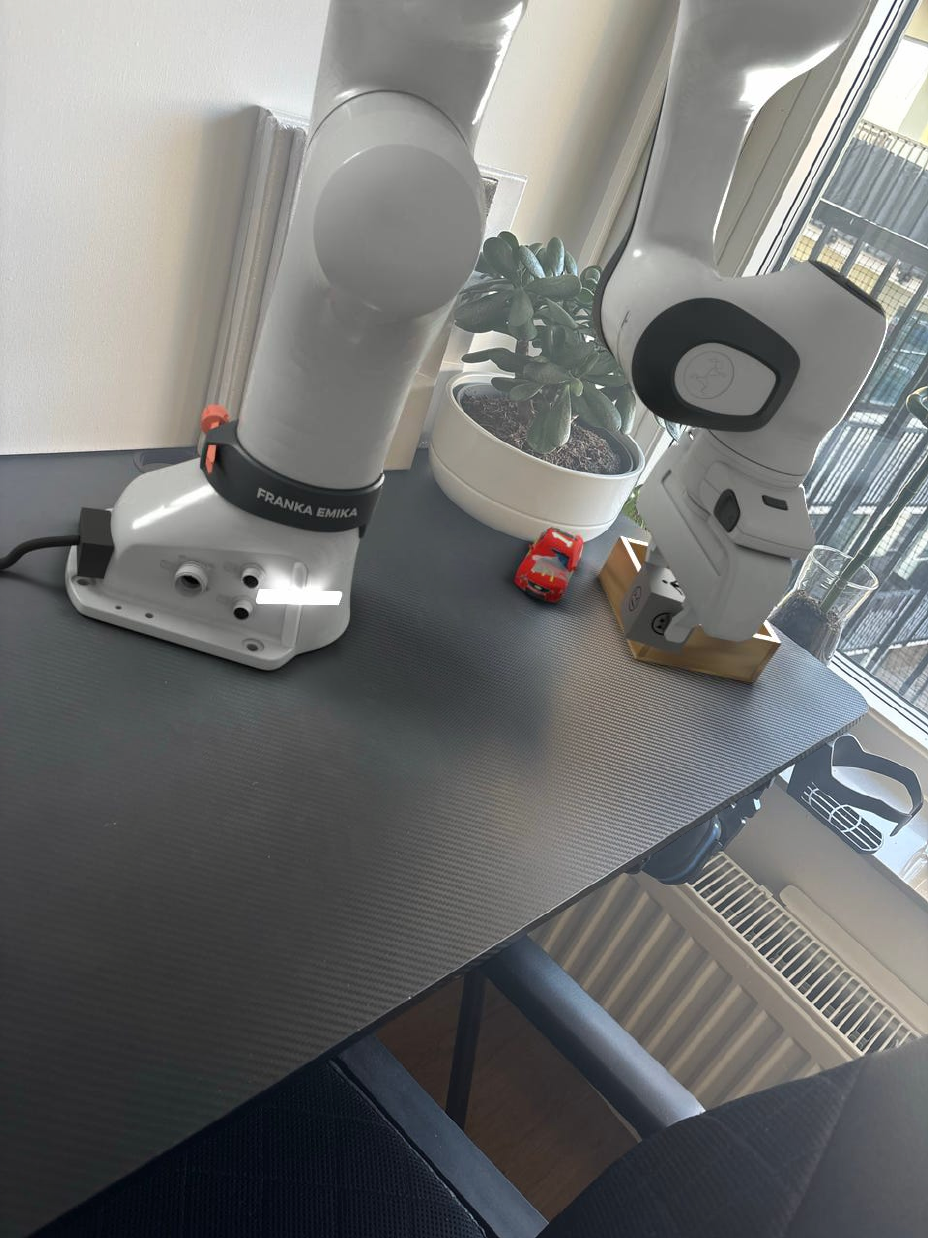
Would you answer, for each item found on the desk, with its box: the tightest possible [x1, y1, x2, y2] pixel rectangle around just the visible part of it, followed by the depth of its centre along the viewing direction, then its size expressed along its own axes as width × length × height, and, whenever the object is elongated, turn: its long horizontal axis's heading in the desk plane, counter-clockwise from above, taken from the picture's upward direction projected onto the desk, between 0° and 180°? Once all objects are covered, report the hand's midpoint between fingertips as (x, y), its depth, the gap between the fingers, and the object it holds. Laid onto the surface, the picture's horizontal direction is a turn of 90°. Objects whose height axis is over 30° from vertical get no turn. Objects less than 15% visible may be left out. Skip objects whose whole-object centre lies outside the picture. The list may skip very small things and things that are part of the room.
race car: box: [513, 527, 584, 604], centre depth 98 cm, size 13×5×4 cm, turn 160°
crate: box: [597, 535, 783, 684], centre depth 98 cm, size 14×14×5 cm
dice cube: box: [620, 561, 696, 655], centre depth 82 cm, size 5×5×5 cm
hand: (658, 612), depth 82 cm, fingers closed on dice cube, 5 cm apart
